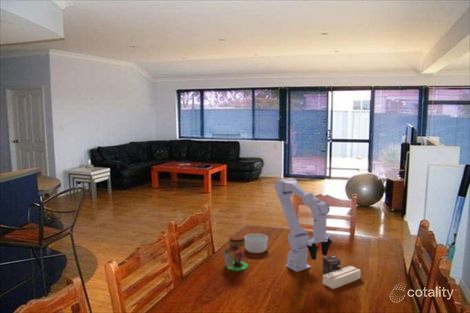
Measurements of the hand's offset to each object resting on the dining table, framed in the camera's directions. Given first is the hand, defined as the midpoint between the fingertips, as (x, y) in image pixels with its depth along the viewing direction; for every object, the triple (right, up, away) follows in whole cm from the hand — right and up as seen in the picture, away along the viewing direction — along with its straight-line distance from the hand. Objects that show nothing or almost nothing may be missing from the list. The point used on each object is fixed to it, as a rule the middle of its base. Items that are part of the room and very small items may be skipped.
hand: (319, 257), depth 173 cm
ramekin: (-27, -5, +35) cm, 44 cm away
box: (+7, -9, +5) cm, 12 cm away
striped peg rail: (+10, -10, -3) cm, 14 cm away
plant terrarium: (-38, -8, +14) cm, 41 cm away
